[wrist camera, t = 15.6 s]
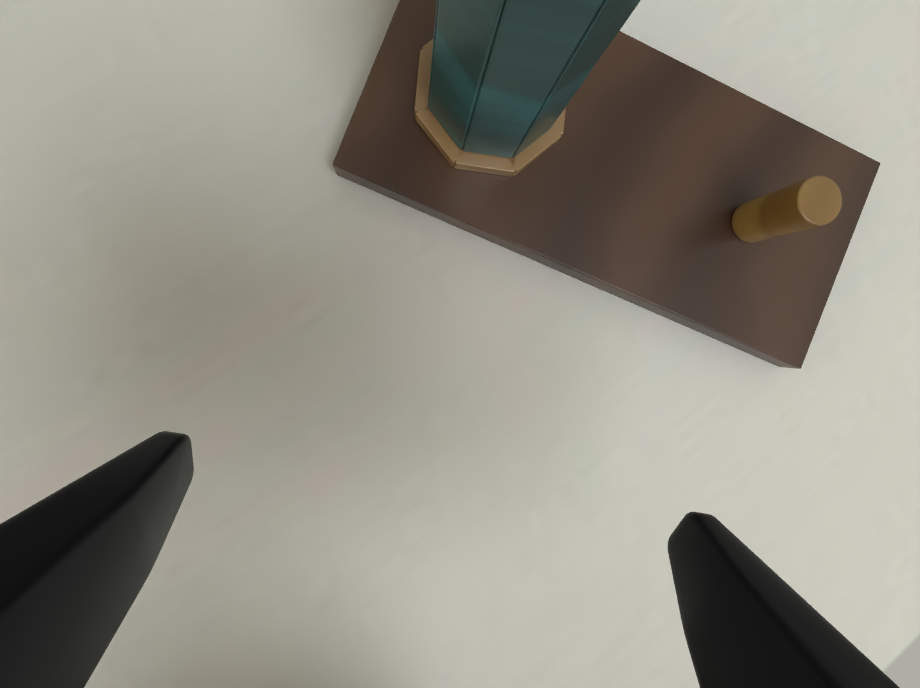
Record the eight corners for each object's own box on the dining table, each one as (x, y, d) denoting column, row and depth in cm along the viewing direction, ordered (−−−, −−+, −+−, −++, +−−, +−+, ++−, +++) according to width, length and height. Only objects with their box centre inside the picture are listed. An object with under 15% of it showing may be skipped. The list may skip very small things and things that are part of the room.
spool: (590, 115, 19) (824, -161, 9) (479, 203, 19) (575, 31, 8) (501, -6, 19) (629, -467, 8) (385, 82, 18) (352, -278, 8)
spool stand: (855, 171, 22) (975, 129, 18) (779, 367, 22) (880, 376, 17) (425, -44, 20) (431, -160, 15) (336, 174, 20) (314, 125, 15)
